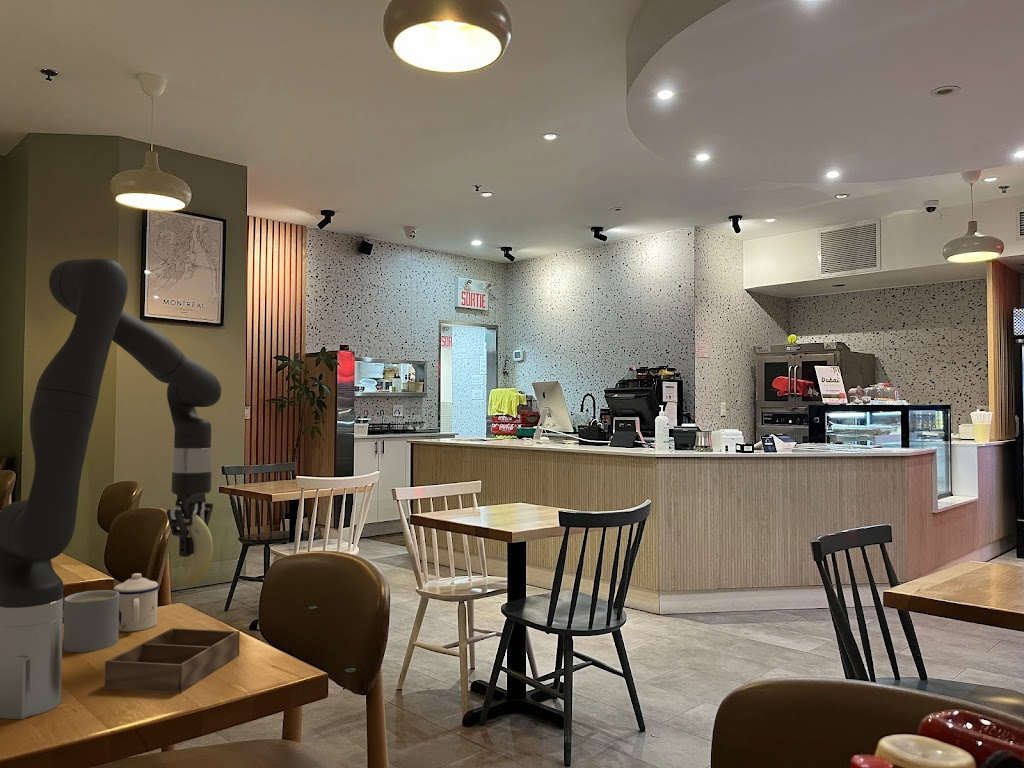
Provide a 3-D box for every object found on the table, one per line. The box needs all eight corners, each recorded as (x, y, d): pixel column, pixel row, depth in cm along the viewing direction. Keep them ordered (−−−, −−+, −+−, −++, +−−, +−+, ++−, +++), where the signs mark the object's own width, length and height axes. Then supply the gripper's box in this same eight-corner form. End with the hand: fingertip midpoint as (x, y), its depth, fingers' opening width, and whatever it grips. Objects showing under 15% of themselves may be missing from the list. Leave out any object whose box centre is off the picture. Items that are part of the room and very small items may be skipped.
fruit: (218, 578, 153) (222, 574, 156) (201, 506, 153) (206, 504, 156) (182, 588, 152) (187, 584, 155) (165, 515, 152) (170, 512, 155)
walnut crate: (181, 695, 128) (181, 665, 128) (104, 690, 130) (105, 661, 130) (239, 657, 148) (239, 631, 148) (171, 653, 150) (172, 628, 150)
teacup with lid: (113, 623, 170) (114, 571, 171) (157, 618, 174) (158, 568, 175) (111, 638, 160) (112, 583, 160) (158, 632, 164) (159, 578, 164)
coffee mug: (121, 646, 154) (122, 597, 154) (65, 655, 148) (66, 604, 149) (112, 630, 165) (113, 584, 165) (59, 638, 159) (60, 591, 160)
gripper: (190, 472, 147) (187, 562, 147) (226, 468, 161) (224, 549, 160) (154, 472, 148) (151, 560, 148) (193, 467, 162) (191, 548, 161)
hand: (189, 554), depth 154 cm, fingers closed on fruit, 2 cm apart
